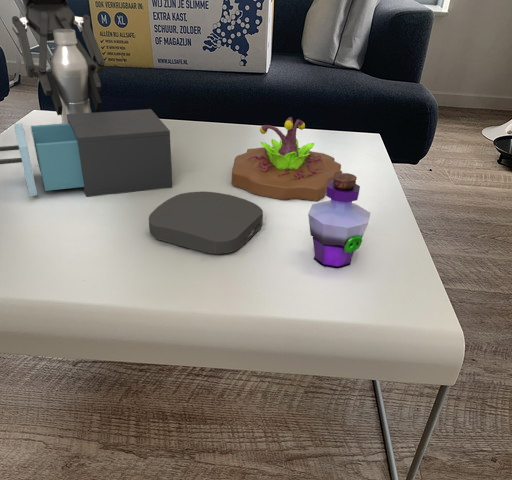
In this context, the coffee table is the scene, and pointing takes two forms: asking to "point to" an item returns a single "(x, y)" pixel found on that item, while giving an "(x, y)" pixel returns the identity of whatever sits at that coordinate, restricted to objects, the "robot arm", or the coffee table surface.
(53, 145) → the drawer
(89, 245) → the coffee table surface
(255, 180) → the plant
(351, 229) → the potion bottle
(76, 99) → the plastic bottle
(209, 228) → the media streaming box
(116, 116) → the cabinet
